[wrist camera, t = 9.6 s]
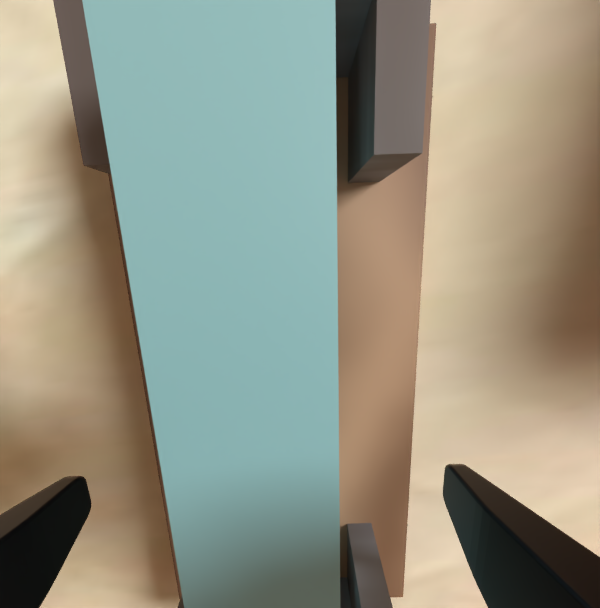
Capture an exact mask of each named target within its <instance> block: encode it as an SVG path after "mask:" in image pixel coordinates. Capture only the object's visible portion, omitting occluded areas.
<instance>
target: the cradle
mask: <svg viewBox="0 0 600 608" xmlns="http://www.w3.org/2000/svg"><path fill="white" fill-rule="evenodd" d="M53 1H54V7H55V12H56V18H57V23H58V28H59V34H60V39H61V45H62V50H63V56H64V61H65V66H66V72H67V77H68V83H69V88H70V94H71V99H72V104H73V110H74V115H75V121H76V126H77V132H78V137H79V142H80V148H81V153H82V159H83V164H84V166H87V167H90V168H93V169H96V170H99V171H102V172H105V173H108V175H109V181H110V186H111V192H112V198H113V204H114V210H115V216H116V222H117V228H118V234H119V240H120V246H121V252H122V258H123V264H124V270H125V276H126V282H127V288H128V294H129V300H130V306H131V312H132V318H133V323H134V329H135V335H136V341H137V347H138V353H139V359H140V365H141V371H142V377H143V383H144V389H145V395H146V401H147V407H148V413H149V419H150V425H151V431H152V437H153V443H154V449H155V455H156V460H157V466H158V472H159V478H160V484H161V490H162V496H163V502H164V508H165V514H166V520H167V526H168V532H169V538H170V544H171V550H172V556H173V562H174V568H175V574H176V580H177V586H178V592H179V597H180V602H179V606H178V608H184V604H183V598H182V592H181V586H180V580H179V574H178V568H177V562H176V556H175V550H174V544H173V538H172V532H171V526H170V520H169V514H168V508H167V502H166V496H165V491H164V485H163V479H162V473H161V467H160V461H159V455H158V449H157V443H156V437H155V431H154V425H153V419H152V413H151V407H150V401H149V395H148V389H147V383H146V377H145V371H144V365H143V359H142V353H141V348H140V342H139V336H138V330H137V324H136V318H135V312H134V306H133V300H132V294H131V288H130V282H129V276H128V270H127V264H126V258H125V252H124V246H123V240H122V234H121V228H120V222H119V216H118V210H117V205H116V199H115V193H114V187H113V181H112V175H111V169H110V163H109V157H108V151H107V145H106V139H105V133H104V127H103V121H102V115H101V109H100V103H99V97H98V91H97V85H96V79H95V73H94V67H93V62H92V56H91V50H90V44H89V38H88V32H87V26H86V20H85V14H84V8H83V2H82V0H53ZM430 5H431V0H335V15H336V137H337V259H338V380H339V502H340V608H393V607H392V603H391V599H390V597H403V587H404V570H405V553H406V535H407V518H408V501H409V484H410V466H411V449H412V432H413V415H414V398H415V380H416V363H417V346H418V329H419V311H420V294H421V277H422V260H423V242H424V225H425V208H426V191H427V174H428V156H429V139H430V122H431V105H432V87H433V70H434V53H435V36H436V23H434V24H430Z"/></svg>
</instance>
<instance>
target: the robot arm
mask: <svg viewBox="0 0 600 608" xmlns="http://www.w3.org/2000/svg"><path fill="white" fill-rule="evenodd" d="M443 497H444V501H445V504H446V507H447V509H448V512H449V515H450V517H451V520H452V522H453V525H454V528H455V530H456V533H457V535H458V538H459V541H460V543H461V546H462V548H463V551H464V554H465V556H466V559H467V561H468V564H469V566H470V569H471V571H472V574H473V576H474V579H475V581H476V583H477V585H478V587H479V589H480V592H481V594H482V596H483V598H484V600H485V602H486V604H487V606H488V608H600V557H599V556H597V555H596V554H594V553H593V552H591V551H590V550H589V549H587V548H586V547H584V546H583V545H581V544H580V543H578V542H577V541H575V540H574V539H572V538H571V537H570V536H568V535H567V534H565V533H564V532H562V531H561V530H559V529H558V528H556V527H555V526H553V525H552V524H551V523H549V522H548V521H546V520H545V519H543V518H542V517H540V516H539V515H537V514H536V513H535V512H533V511H532V510H530V509H529V508H527V507H526V506H524V505H523V504H521V503H520V502H518V501H517V500H516V499H514V498H513V497H511V496H510V495H508V494H507V493H505V492H504V491H502V490H501V489H499V488H498V487H497V486H495V485H494V484H492V483H491V482H489V481H488V480H486V479H485V478H483V477H482V476H480V475H479V474H478V473H476V472H475V471H473V470H472V469H470V468H469V467H467V466H466V465H463V464H449V465H447V466H446V467H445V474H444V485H443ZM90 509H91V499H90V495H89V491H88V486H87V482H86V479H85V478H84V477H82V476H69V477H65V478H62V479H61V480H59V481H57V482H55V483H54V484H52V485H50V486H49V487H47V488H45V489H44V490H42V491H40V492H38V493H37V494H35V495H33V496H32V497H30V498H28V499H26V500H25V501H23V502H21V503H20V504H18V505H16V506H15V507H13V508H11V509H9V510H8V511H6V512H4V513H3V514H1V515H0V608H39V607H40V606H41V604H42V602H43V600H44V599H45V597H46V595H47V594H48V592H49V590H50V588H51V586H52V585H53V583H54V581H55V579H56V577H57V575H58V573H59V571H60V569H61V567H62V566H63V564H64V562H65V560H66V558H67V556H68V554H69V552H70V550H71V548H72V546H73V544H74V542H75V540H76V538H77V536H78V534H79V532H80V530H81V529H82V527H83V525H84V523H85V521H86V519H87V517H88V515H89V512H90Z"/></svg>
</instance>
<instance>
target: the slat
mask: <svg viewBox="0 0 600 608" xmlns="http://www.w3.org/2000/svg"><path fill="white" fill-rule="evenodd" d="M82 2H83V8H84V14H85V20H86V26H87V32H88V38H89V44H90V50H91V56H92V62H93V67H94V73H95V79H96V85H97V91H98V97H99V103H100V109H101V115H102V121H103V127H104V133H105V139H106V145H107V151H108V157H109V163H110V169H111V175H112V181H113V187H114V193H115V199H116V205H117V210H118V216H119V222H120V228H121V234H122V240H123V246H124V252H125V258H126V264H127V270H128V276H129V282H130V288H131V294H132V300H133V306H134V312H135V318H136V324H137V330H138V336H139V342H140V348H141V353H142V359H143V365H144V371H145V377H146V383H147V389H148V395H149V401H150V407H151V413H152V419H153V425H154V431H155V437H156V443H157V449H158V455H159V461H160V467H161V473H162V479H163V485H164V491H165V496H166V502H167V508H168V514H169V520H170V526H171V532H172V538H173V544H174V550H175V556H176V562H177V568H178V574H179V580H180V586H181V592H182V598H183V604H184V608H340V502H339V380H338V259H337V137H336V15H335V0H82Z"/></svg>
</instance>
